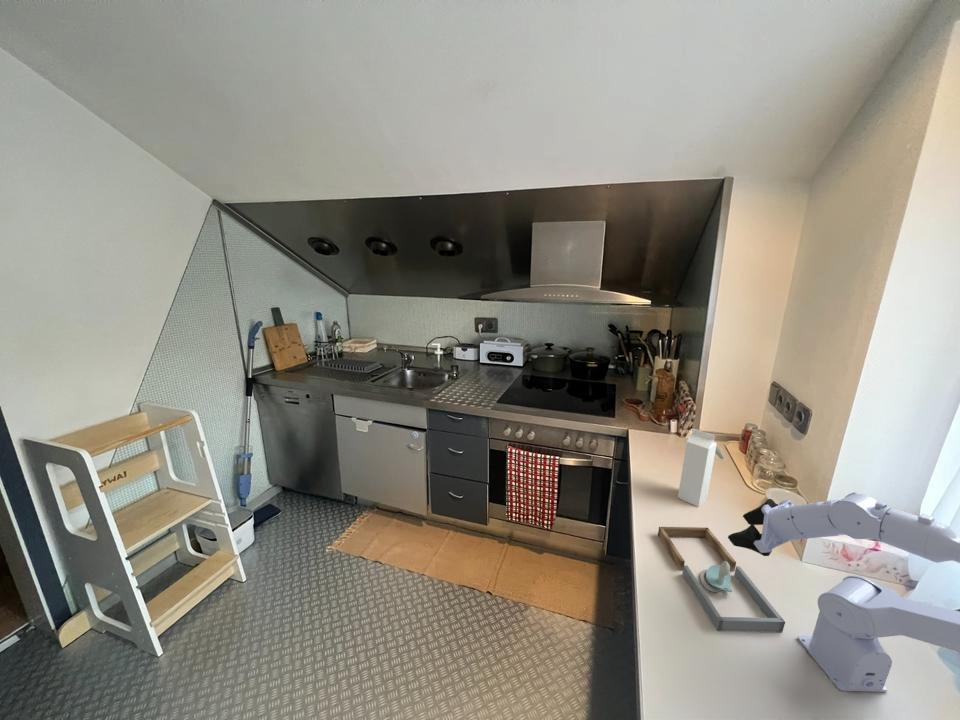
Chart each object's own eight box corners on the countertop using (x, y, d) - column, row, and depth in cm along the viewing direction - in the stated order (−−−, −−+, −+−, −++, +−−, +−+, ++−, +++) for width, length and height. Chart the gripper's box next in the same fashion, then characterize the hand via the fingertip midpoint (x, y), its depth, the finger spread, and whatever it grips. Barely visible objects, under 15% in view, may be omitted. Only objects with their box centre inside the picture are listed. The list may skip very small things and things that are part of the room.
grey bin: (782, 632, 75) (785, 621, 74) (717, 630, 75) (719, 620, 74) (737, 575, 88) (739, 566, 87) (682, 574, 88) (683, 565, 88)
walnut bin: (734, 571, 89) (736, 562, 89) (679, 570, 89) (681, 561, 89) (706, 535, 101) (707, 527, 100) (657, 534, 101) (659, 526, 100)
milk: (698, 507, 112) (710, 439, 106) (677, 497, 117) (688, 431, 111) (706, 499, 116) (719, 432, 110) (686, 490, 120) (696, 425, 114)
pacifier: (699, 591, 84) (732, 601, 81) (703, 567, 83) (736, 576, 80) (698, 568, 90) (729, 577, 88) (702, 545, 89) (732, 553, 86)
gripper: (800, 482, 77) (739, 494, 88) (773, 525, 69) (711, 533, 80) (827, 514, 75) (762, 522, 86) (802, 561, 67) (735, 564, 79)
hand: (739, 529), depth 83 cm, fingers open, 7 cm apart
